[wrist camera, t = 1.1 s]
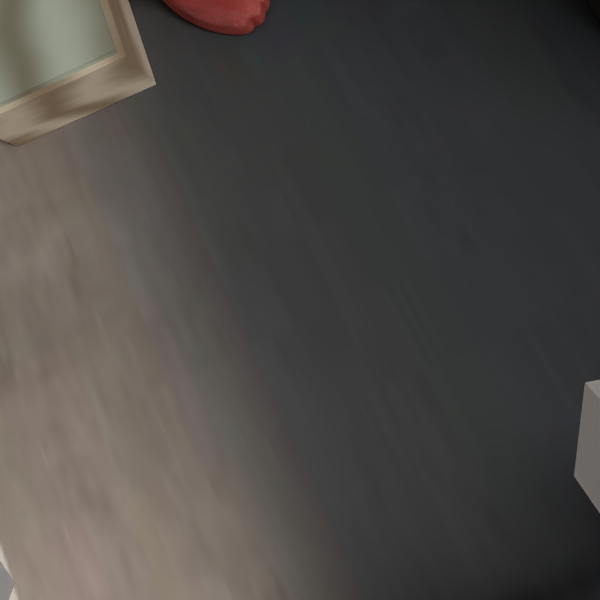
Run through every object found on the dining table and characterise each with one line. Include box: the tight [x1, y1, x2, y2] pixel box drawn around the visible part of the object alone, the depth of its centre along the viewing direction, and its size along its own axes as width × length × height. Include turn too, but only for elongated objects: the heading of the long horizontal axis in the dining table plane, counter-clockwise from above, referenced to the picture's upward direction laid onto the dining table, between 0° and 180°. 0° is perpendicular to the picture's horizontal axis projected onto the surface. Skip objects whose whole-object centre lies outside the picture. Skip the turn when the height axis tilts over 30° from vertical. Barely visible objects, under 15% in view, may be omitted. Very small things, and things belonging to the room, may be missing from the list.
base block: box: [0, 0, 156, 146], centre depth 39 cm, size 12×12×5 cm
